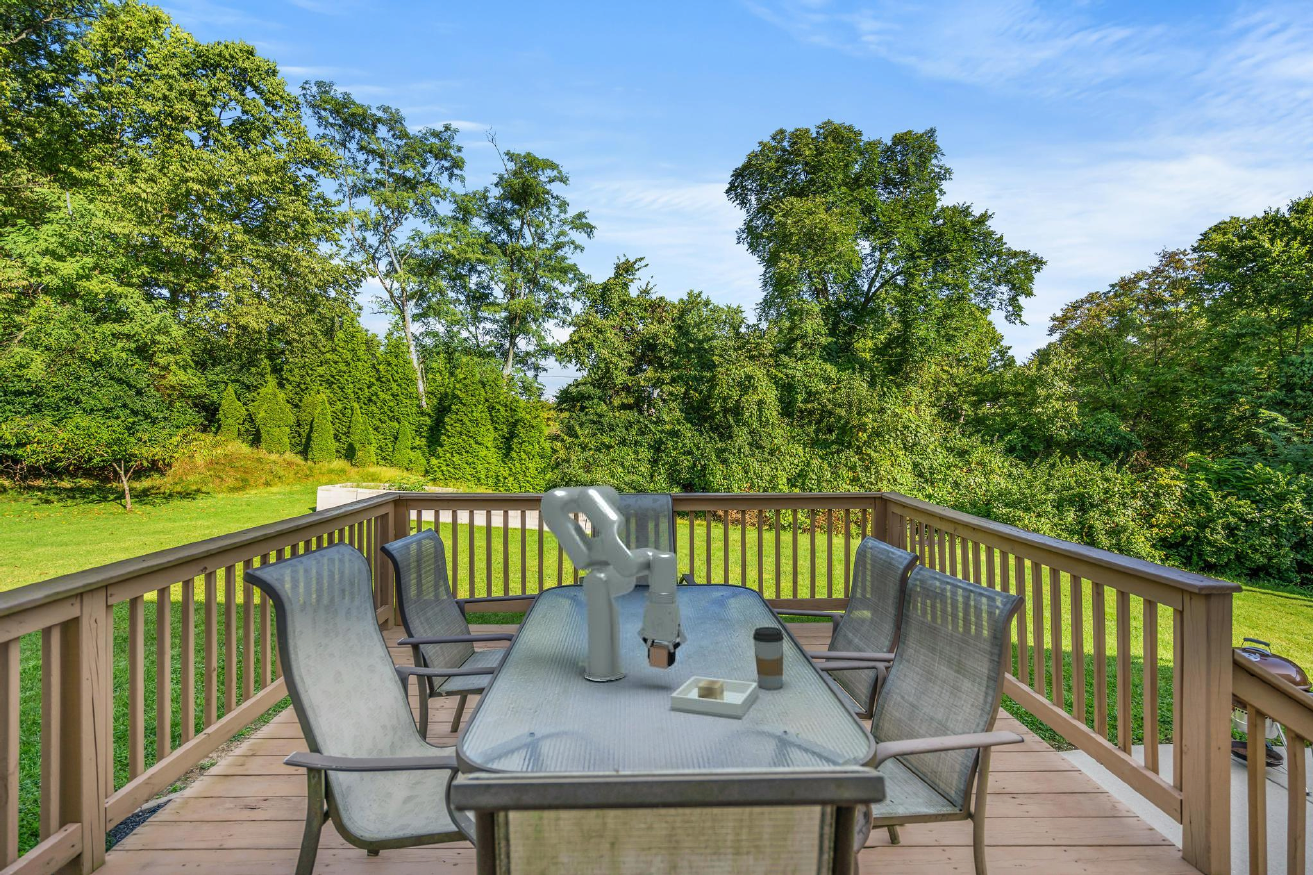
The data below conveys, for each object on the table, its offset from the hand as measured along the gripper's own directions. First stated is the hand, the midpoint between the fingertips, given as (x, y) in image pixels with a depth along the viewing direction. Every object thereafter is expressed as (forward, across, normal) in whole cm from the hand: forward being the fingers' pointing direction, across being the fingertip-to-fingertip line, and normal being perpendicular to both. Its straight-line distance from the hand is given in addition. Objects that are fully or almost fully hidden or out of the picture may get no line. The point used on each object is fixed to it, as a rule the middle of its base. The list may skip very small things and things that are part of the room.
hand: (661, 662), depth 172 cm
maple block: (+5, +18, -10) cm, 21 cm away
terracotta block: (+1, 0, 0) cm, 1 cm away
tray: (+6, +18, -6) cm, 20 cm away
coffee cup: (+5, +28, +10) cm, 30 cm away
